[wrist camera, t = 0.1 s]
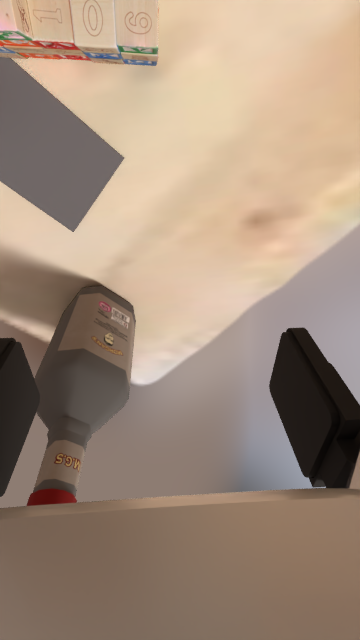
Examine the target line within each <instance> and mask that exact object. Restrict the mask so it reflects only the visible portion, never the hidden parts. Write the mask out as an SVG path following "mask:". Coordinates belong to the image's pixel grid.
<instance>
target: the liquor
mask: <svg viewBox="0 0 360 640" xmlns="http://www.w3.org/2000/svg"><path fill="white" fill-rule="evenodd" d="M135 323H136V320H135V315H134V309H133V306H132V305H131V304H130V303H129V302H127V301H125V300H124V299H122V298H121V297H119V296H118V295H116V294H115V293H113V292H111V291H110V290H108V289H107V288H105V287H104V286H96V287H85V288H82V289H81V290H80V292H79V293H78V294H77V295H76V297H75V298H74V299H73V301H72V302H71V303H70V305H69V306H68V307H67V308H66V310H65V311H64V312H63V314H62V317H61V319H60V321H59V324H58V326H57V328H56V330H55V333H54V335H53V337H52V340H51V342H50V344H49V347H48V349H47V351H46V353H45V356H44V358H43V360H42V362H41V365H40V367H39V369H38V371H37V374H36V376H35V378H34V380H35V383H36V385H37V388H38V391H39V393H40V403H39V406H38V408H37V411H36V412H37V414H38V416H39V417H40V418H41V420H42V421H43V423H44V424H45V425H46V427H47V428H48V429H49V431H48V434H47V435H48V444H47V448H46V451H45V454H44V458H43V461H42V464H41V468H40V471H39V474H38V477H37V481H36V484H35V487H34V491H33V493H32V494H31V495H30V497H29V500H28V503H27V506H35V505H50V504H64V503H76V502H77V500H76V499H75V496H76V491H77V487H78V482H79V477H80V473H81V468H82V464H83V459H84V454H85V450H86V445H87V442H88V441H89V439H90V438H91V435H92V434H93V433H94V432H95V431H97V430H98V429H100V428H101V427H102V426H103V425H104V424H105V423H106V422H107V421H108V420H109V419H111V418H112V417H113V416H114V415H115V414H116V413H117V412H118V411H119V410H121V409H122V408H123V407H124V405H125V404H126V402H127V400H128V399H129V389H130V379H131V368H132V357H133V346H134V334H135Z"/></svg>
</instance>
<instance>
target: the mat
mask: <svg viewBox="0 0 360 640" xmlns="http://www.w3.org/2000/svg"><path fill="white" fill-rule="evenodd" d="M123 159H124V157H122V156H121V155H120V154H119V153H118V152H117V151H116V150H114V149H113V148H112V147H111V146H110V145H109V144H108V143H106V142H105V141H104V140H103V139H102V138H101V137H100V136H98V135H97V134H96V133H95V132H94V131H93V130H92V129H91V128H89V127H88V126H87V125H86V124H85V123H84V122H83V121H81V120H80V119H79V118H78V117H77V116H76V115H75V114H73V113H72V112H71V111H70V110H69V109H68V108H67V107H65V106H64V105H63V104H62V103H61V102H60V101H59V100H58V99H56V98H55V97H54V96H53V95H52V94H51V93H50V92H48V91H47V90H46V89H45V88H44V87H43V86H42V85H40V84H39V83H38V82H37V81H36V80H35V79H34V78H32V77H31V76H30V75H29V74H28V73H27V72H26V71H25V70H23V69H22V68H21V67H20V66H19V65H18V64H17V63H15V62H14V61H13V60H12V59H11V58H6V57H0V181H1V182H2V183H4V184H5V185H7V186H8V187H9V188H11V189H12V190H14V191H15V192H17V193H18V194H19V195H21V196H22V197H24V198H25V199H27V200H28V201H29V202H31V203H32V204H34V205H35V206H37V207H38V208H39V209H41V210H42V211H44V212H45V213H47V214H48V215H49V216H51V217H52V218H54V219H55V220H57V221H58V222H59V223H61V224H62V225H64V226H65V227H67V228H68V229H69V230H71V231H72V232H74V231H75V229H76V228H77V226H78V225H79V223H80V222H81V221H82V219H83V218H84V216H85V215H86V213H87V212H88V210H89V209H90V207H91V206H92V204H93V203H94V202H95V200H96V199H97V197H98V196H99V194H100V193H101V191H102V190H103V188H104V187H105V186H106V184H107V183H108V181H109V180H110V178H111V177H112V175H113V174H114V172H115V171H116V169H117V168H118V167H119V165H120V164H121V162H122V161H123Z"/></svg>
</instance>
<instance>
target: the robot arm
mask: <svg viewBox="0 0 360 640" xmlns="http://www.w3.org/2000/svg"><path fill="white" fill-rule="evenodd" d="M269 387H270V392H271V395H272V398H273V401H274V403H275V406H276V408H277V411H278V413H279V416H280V418H281V420H282V423H283V426H284V428H285V431H286V433H287V436H288V438H289V441H290V443H291V446H292V448H293V451H294V453H295V456H296V458H297V461H298V463H299V466H300V468H301V471H302V473H303V475H304V476H305V477H309V479H310V482H311V484H312V486H313V487H325V486H326V488H314V489H313V488H312V489H289V490H267V491H251V492H234V493H217V494H200V495H184V496H168V497H153V498H138V499H122V500H108V501H94V502H93V501H92V502H78V503H64V504H50V505H35V506H22V507H10V508H0V640H360V405H359V404H358V402H357V401H356V399H355V398H354V396H353V395H352V393H351V392H350V390H349V389H348V387H347V386H346V384H345V383H344V381H343V380H342V378H341V377H340V375H339V374H338V372H337V371H336V370H335V368H334V367H333V366H332V364H330V363H328V361H327V360H326V358H325V357H324V355H323V354H322V352H321V351H320V349H319V348H318V346H317V345H316V343H315V342H314V340H313V339H312V337H311V336H310V334H309V333H308V331H307V330H306V329H305V328H288V329H287V331H286V332H283V333H282V336H281V339H280V343H279V347H278V351H277V355H276V360H275V364H274V367H273V372H272V376H271V380H270V385H269ZM39 403H40V393H39V391H38V388H37V385H36V383H35V380H34V377H33V375H32V372H31V369H30V366H29V364H28V361H27V359H26V356H25V353H24V350H23V348H22V345H21V343H20V342H16V341H15V339H14V338H0V497H1V496H3V494H4V493H5V491H6V489H7V486H8V483H9V481H10V478H11V475H12V473H13V471H14V468H15V465H16V463H17V460H18V457H19V455H20V452H21V450H22V447H23V445H24V442H25V440H26V437H27V434H28V432H29V429H30V426H31V424H32V421H33V419H34V416H35V414H36V411H37V408H38V406H39Z"/></svg>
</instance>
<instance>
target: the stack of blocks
mask: <svg viewBox="0 0 360 640" xmlns="http://www.w3.org/2000/svg"><path fill="white" fill-rule="evenodd" d="M0 57H6V58H21V59H28V58H29V57H33V58H47V59H73V60H90V61H91V60H92V61H93V62H95V63H109V64H134V65H151V66H155V65H157V60H158V0H0Z"/></svg>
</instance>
